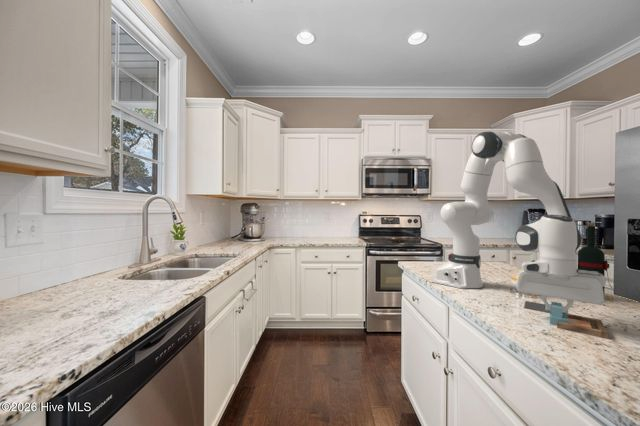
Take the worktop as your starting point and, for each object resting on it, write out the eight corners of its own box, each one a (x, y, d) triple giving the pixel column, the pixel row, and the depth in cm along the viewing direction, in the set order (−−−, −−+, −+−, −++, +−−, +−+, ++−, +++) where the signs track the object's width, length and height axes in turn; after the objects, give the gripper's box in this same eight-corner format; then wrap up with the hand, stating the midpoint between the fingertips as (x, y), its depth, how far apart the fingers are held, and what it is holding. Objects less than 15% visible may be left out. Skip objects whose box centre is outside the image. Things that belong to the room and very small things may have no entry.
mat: (523, 309, 95) (523, 308, 95) (525, 301, 102) (525, 300, 102) (561, 316, 88) (561, 315, 88) (560, 308, 96) (560, 307, 96)
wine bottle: (613, 303, 102) (614, 224, 101) (576, 296, 109) (577, 223, 109) (612, 298, 107) (614, 223, 107) (577, 292, 114) (578, 222, 114)
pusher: (550, 324, 81) (550, 306, 81) (549, 317, 87) (550, 300, 87) (567, 328, 79) (568, 310, 79) (566, 321, 84) (566, 303, 84)
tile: (567, 329, 80) (567, 322, 80) (566, 324, 84) (566, 317, 84) (591, 334, 76) (591, 327, 76) (589, 328, 80) (589, 322, 80)
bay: (557, 329, 79) (557, 322, 79) (555, 317, 87) (556, 311, 87) (607, 340, 72) (607, 332, 72) (600, 326, 81) (600, 319, 81)
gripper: (604, 270, 79) (603, 317, 79) (517, 261, 92) (517, 301, 92) (607, 274, 74) (606, 324, 74) (516, 264, 87) (515, 306, 87)
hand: (556, 311), depth 83 cm, fingers closed on pusher, 2 cm apart
